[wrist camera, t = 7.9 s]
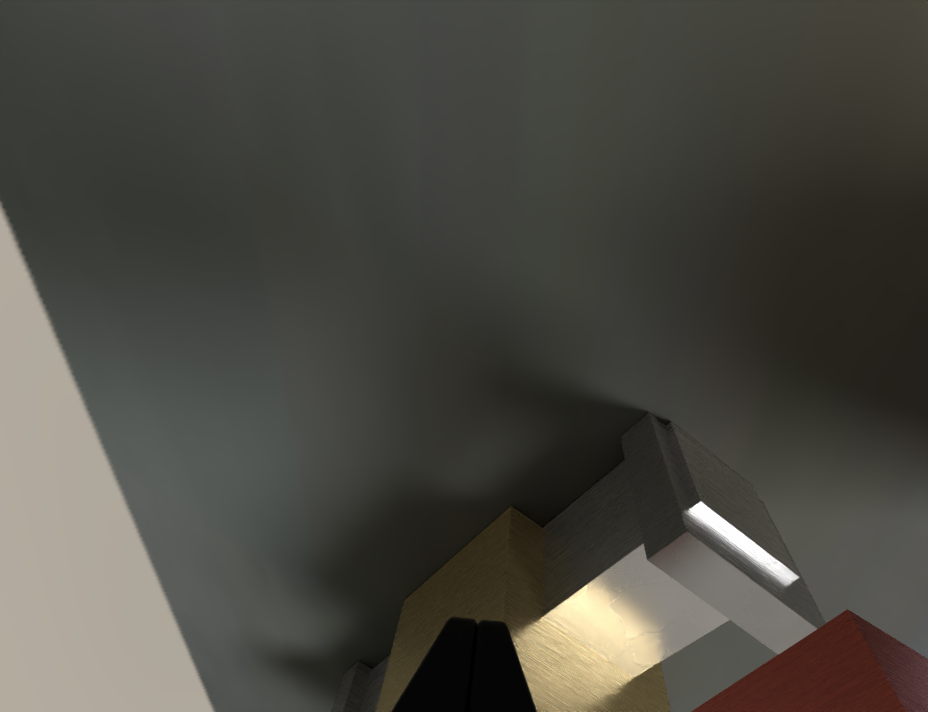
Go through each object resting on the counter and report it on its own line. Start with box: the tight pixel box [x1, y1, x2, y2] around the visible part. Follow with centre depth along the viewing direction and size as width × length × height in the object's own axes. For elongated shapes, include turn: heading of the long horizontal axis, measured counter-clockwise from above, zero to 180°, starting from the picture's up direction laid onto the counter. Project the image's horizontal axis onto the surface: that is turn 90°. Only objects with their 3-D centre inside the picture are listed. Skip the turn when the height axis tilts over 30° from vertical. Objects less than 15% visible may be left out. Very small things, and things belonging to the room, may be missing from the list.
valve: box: [331, 413, 826, 712], centre depth 18 cm, size 18×6×8 cm, turn 142°
